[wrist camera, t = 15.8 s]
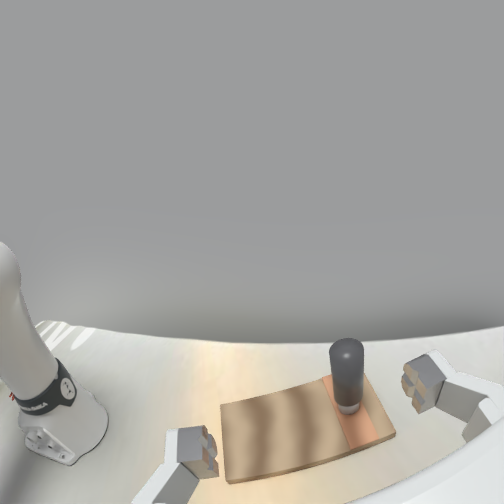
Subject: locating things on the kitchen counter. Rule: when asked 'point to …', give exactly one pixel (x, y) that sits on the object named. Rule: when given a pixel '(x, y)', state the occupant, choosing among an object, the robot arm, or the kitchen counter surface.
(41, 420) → the robot arm
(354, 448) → the board
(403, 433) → the kitchen counter surface
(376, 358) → the kitchen counter surface
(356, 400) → the round-topped grey cylinder
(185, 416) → the kitchen counter surface
